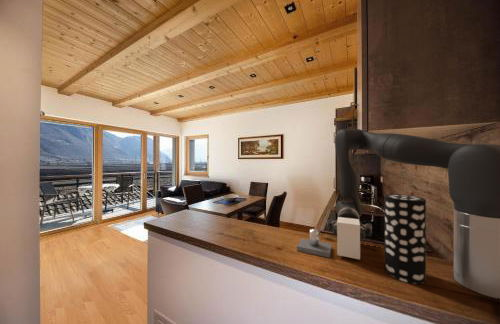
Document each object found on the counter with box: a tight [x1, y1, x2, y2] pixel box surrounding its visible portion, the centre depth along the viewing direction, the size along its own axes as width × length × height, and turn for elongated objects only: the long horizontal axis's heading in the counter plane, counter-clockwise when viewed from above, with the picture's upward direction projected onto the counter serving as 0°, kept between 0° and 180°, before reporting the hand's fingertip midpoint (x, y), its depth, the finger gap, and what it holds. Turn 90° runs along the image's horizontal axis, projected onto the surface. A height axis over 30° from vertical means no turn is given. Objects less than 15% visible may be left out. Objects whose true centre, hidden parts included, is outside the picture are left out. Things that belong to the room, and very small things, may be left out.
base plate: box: [296, 228, 332, 259], centre depth 63 cm, size 10×7×6 cm
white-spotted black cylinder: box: [384, 194, 427, 285], centre depth 50 cm, size 8×8×20 cm
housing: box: [336, 216, 361, 260], centre depth 59 cm, size 6×6×10 cm
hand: (348, 234), depth 57 cm, fingers closed on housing, 6 cm apart
